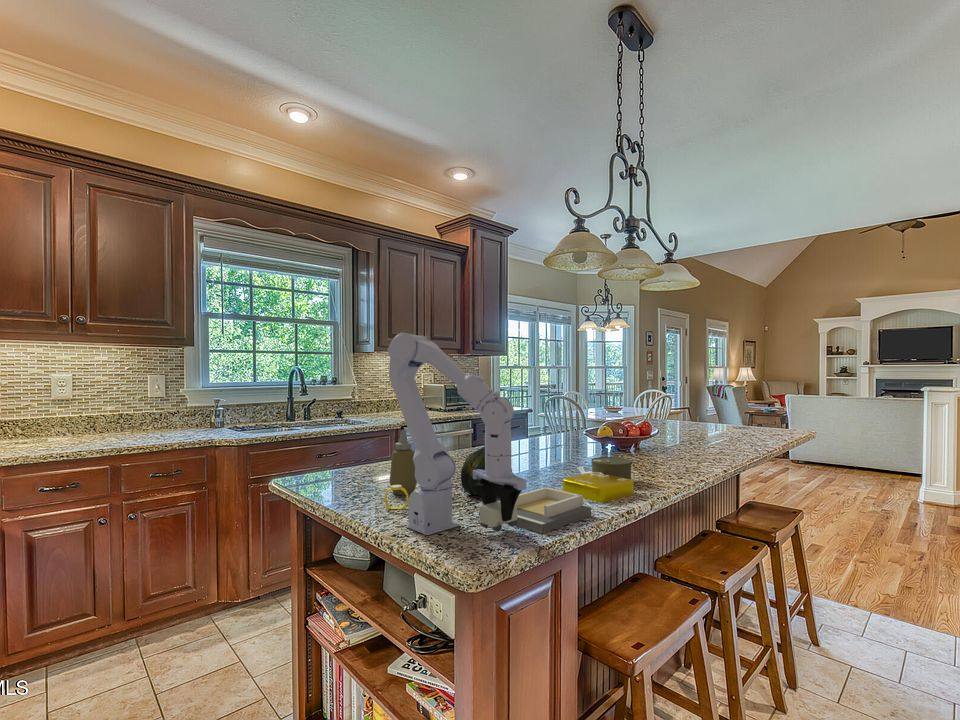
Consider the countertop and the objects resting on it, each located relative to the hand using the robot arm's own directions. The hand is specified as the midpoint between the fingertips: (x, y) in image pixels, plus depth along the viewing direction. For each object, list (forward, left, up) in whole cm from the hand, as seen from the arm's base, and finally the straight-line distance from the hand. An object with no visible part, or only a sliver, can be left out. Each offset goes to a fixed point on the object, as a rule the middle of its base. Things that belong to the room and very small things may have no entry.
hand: (498, 517), depth 102 cm
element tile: (+43, +4, -4) cm, 44 cm away
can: (+57, +8, -4) cm, 58 cm away
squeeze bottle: (+4, +43, -3) cm, 43 cm away
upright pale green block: (0, 0, -2) cm, 2 cm away
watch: (-6, +31, -3) cm, 32 cm away
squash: (+21, +26, -3) cm, 34 cm away
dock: (+15, +1, -3) cm, 15 cm away
